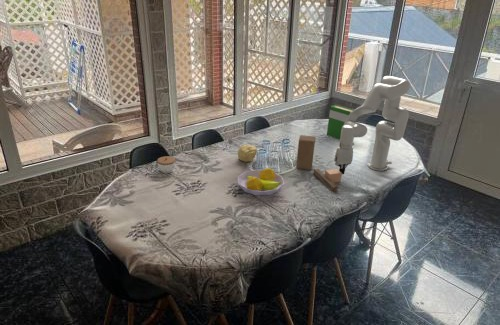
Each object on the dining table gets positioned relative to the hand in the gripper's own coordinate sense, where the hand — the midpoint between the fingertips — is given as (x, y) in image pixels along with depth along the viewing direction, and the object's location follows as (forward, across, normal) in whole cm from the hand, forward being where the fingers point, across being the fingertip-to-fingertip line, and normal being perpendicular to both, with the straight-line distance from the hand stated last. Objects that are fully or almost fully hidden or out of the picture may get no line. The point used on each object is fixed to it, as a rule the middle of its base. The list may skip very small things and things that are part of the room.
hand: (341, 173), depth 223 cm
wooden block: (+4, +14, -22) cm, 27 cm away
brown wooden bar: (+4, +11, +1) cm, 12 cm away
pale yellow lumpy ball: (+4, +48, -40) cm, 63 cm away
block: (+4, +6, 0) cm, 7 cm away
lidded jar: (+3, +101, -35) cm, 107 cm away
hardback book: (+5, -37, -66) cm, 76 cm away
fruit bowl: (+4, +52, +1) cm, 53 cm away
